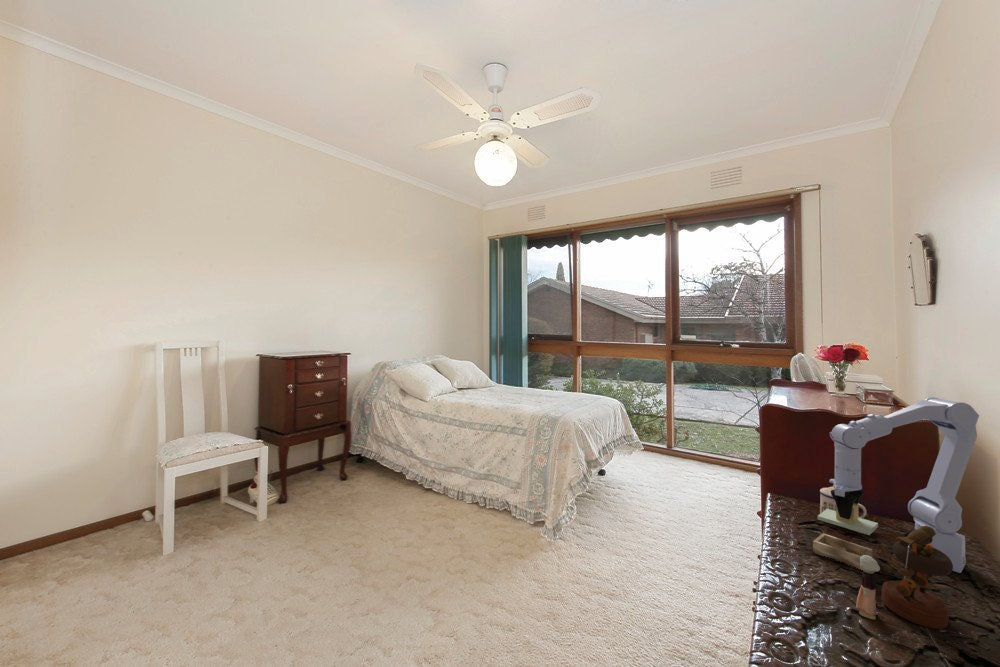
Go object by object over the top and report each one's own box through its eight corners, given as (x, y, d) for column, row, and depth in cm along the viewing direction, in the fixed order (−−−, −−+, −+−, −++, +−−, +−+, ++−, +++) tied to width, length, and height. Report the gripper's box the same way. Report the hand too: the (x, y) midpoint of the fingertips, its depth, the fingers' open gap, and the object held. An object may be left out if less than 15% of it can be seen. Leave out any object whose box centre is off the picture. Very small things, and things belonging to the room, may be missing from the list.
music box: (941, 641, 83) (943, 541, 83) (871, 609, 92) (872, 520, 92) (961, 614, 91) (962, 523, 91) (894, 587, 100) (895, 505, 100)
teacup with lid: (815, 519, 137) (816, 484, 137) (823, 511, 143) (823, 478, 143) (863, 532, 128) (863, 495, 128) (869, 524, 134) (869, 488, 134)
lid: (877, 528, 114) (878, 506, 114) (869, 537, 109) (869, 514, 109) (827, 513, 123) (827, 493, 123) (817, 521, 119) (817, 500, 119)
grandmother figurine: (855, 601, 95) (856, 546, 95) (878, 609, 92) (878, 552, 92) (856, 619, 89) (857, 561, 89) (880, 627, 86) (881, 567, 86)
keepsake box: (872, 561, 112) (872, 549, 112) (863, 570, 107) (863, 558, 107) (822, 544, 121) (822, 533, 121) (812, 552, 116) (812, 541, 116)
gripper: (838, 459, 124) (837, 504, 124) (821, 468, 115) (821, 517, 115) (869, 465, 118) (868, 513, 118) (853, 476, 110) (853, 526, 110)
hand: (847, 515), depth 116 cm, fingers closed on lid, 4 cm apart
